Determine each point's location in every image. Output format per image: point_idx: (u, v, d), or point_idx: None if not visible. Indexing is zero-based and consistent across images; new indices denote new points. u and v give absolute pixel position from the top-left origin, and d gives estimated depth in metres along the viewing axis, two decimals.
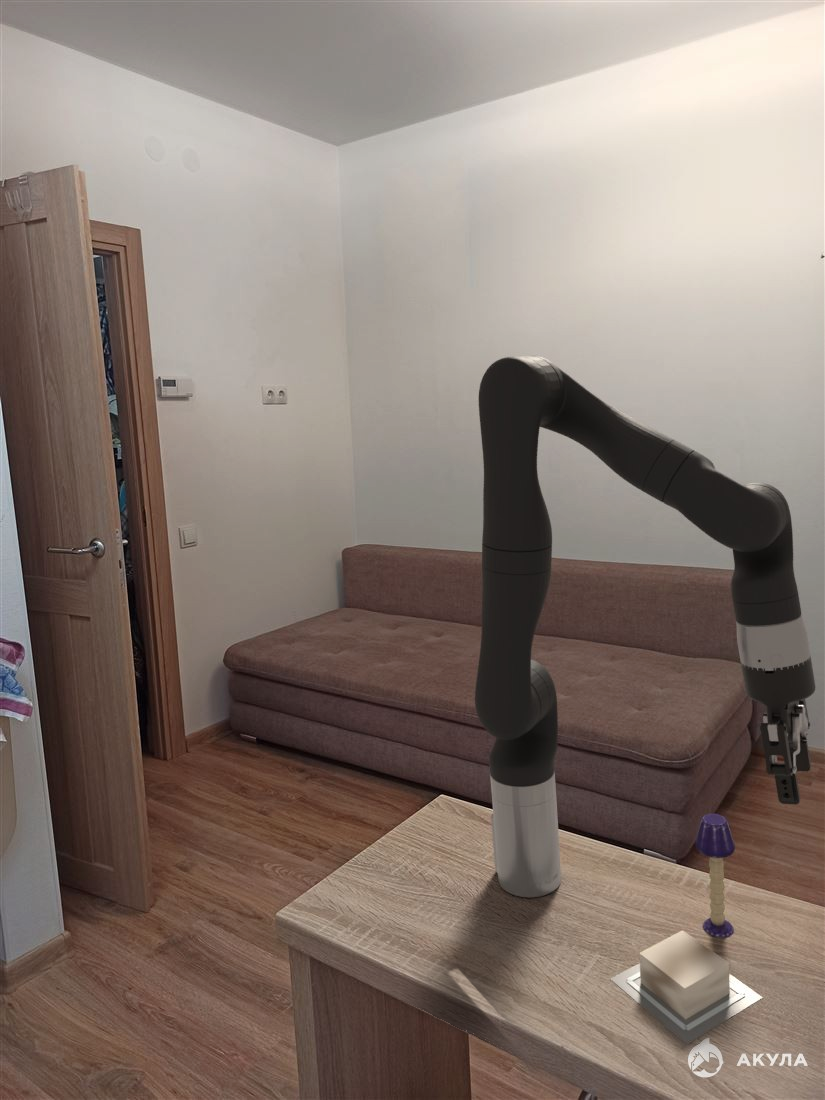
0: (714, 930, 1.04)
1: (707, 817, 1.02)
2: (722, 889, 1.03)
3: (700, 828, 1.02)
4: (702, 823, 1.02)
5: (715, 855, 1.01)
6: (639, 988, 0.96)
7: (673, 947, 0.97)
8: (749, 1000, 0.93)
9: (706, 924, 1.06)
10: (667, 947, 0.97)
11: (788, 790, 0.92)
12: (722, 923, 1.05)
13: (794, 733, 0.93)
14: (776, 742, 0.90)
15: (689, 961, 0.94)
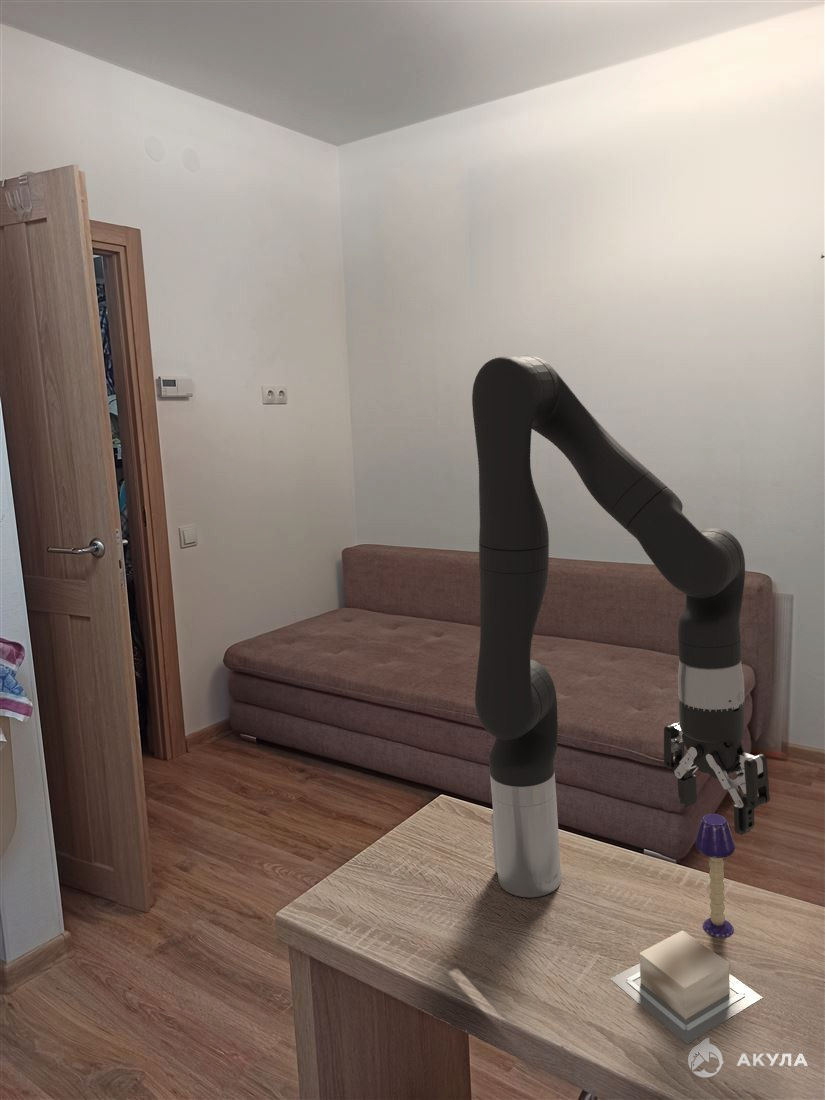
0: (714, 930, 1.04)
1: (707, 817, 1.02)
2: (722, 889, 1.03)
3: (700, 828, 1.02)
4: (702, 823, 1.02)
5: (715, 855, 1.01)
6: (639, 988, 0.96)
7: (673, 947, 0.97)
8: (749, 1000, 0.93)
9: (706, 924, 1.06)
10: (667, 947, 0.97)
11: (751, 819, 0.97)
12: (722, 923, 1.05)
13: (740, 764, 0.99)
14: (759, 774, 0.95)
15: (689, 961, 0.94)
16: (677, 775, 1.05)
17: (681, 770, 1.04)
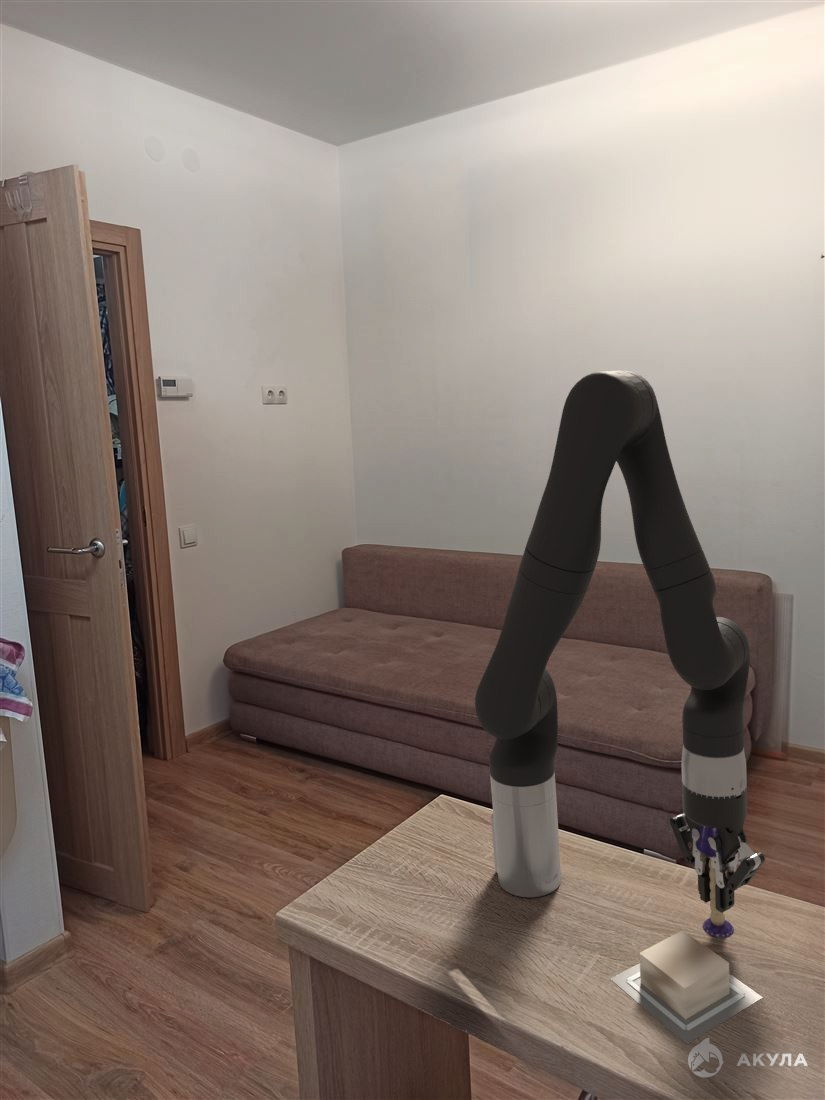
0: (714, 930, 1.04)
1: None
2: None
3: (700, 828, 1.02)
4: None
5: (715, 855, 1.01)
6: (639, 988, 0.96)
7: (673, 947, 0.97)
8: (749, 1000, 0.93)
9: (706, 924, 1.06)
10: (667, 947, 0.97)
11: (732, 898, 1.02)
12: (722, 923, 1.05)
13: None
14: None
15: (689, 961, 0.94)
16: (698, 872, 1.05)
17: (702, 867, 1.04)
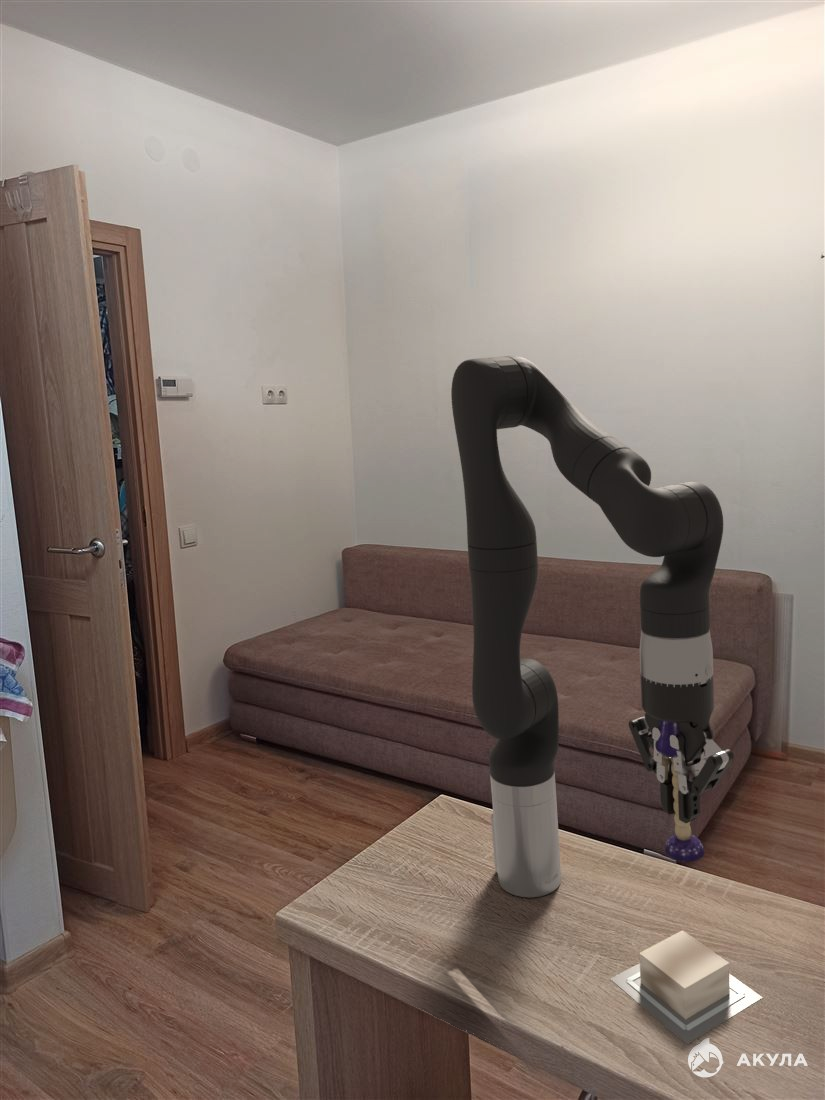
0: (679, 845, 0.92)
1: None
2: None
3: (659, 726, 0.90)
4: (661, 720, 0.90)
5: (676, 754, 0.88)
6: (639, 988, 0.96)
7: (673, 947, 0.97)
8: (749, 1000, 0.93)
9: (670, 840, 0.93)
10: (667, 947, 0.97)
11: (697, 806, 0.90)
12: (688, 838, 0.92)
13: None
14: None
15: (689, 961, 0.94)
16: (660, 779, 0.92)
17: (664, 773, 0.91)
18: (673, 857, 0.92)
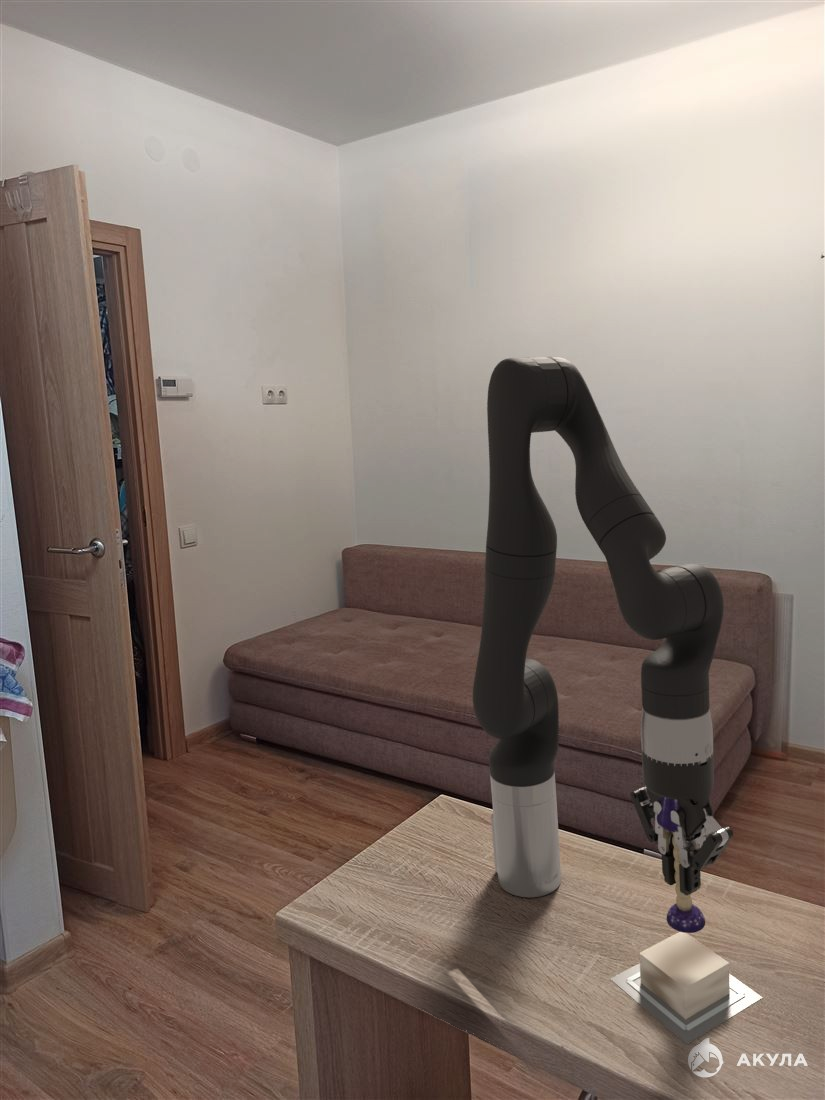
0: (680, 916, 0.93)
1: None
2: None
3: (661, 800, 0.92)
4: None
5: (677, 829, 0.90)
6: (639, 988, 0.96)
7: (673, 947, 0.97)
8: (749, 1000, 0.93)
9: (672, 910, 0.94)
10: (667, 947, 0.97)
11: (697, 879, 0.91)
12: (689, 908, 0.94)
13: None
14: None
15: (689, 961, 0.94)
16: (661, 851, 0.93)
17: (665, 845, 0.93)
18: (674, 928, 0.93)
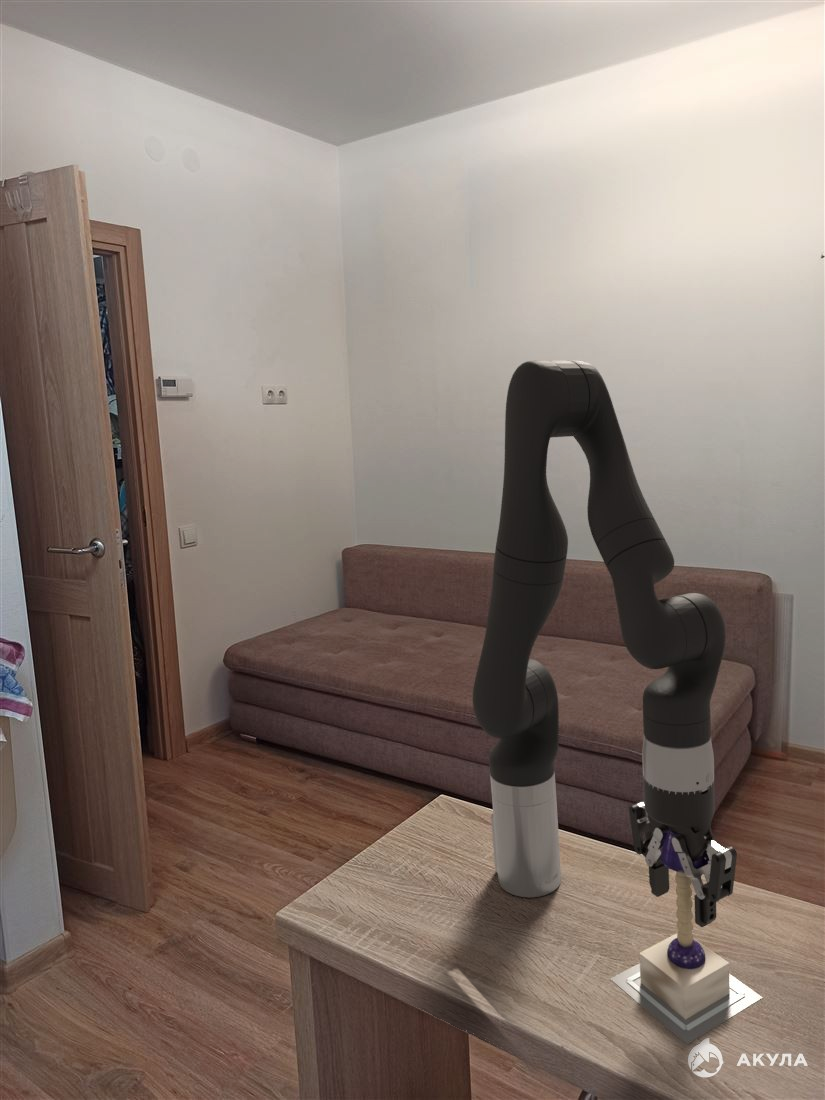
0: (681, 952, 0.94)
1: None
2: (690, 907, 0.93)
3: (665, 839, 0.92)
4: (667, 834, 0.92)
5: (681, 869, 0.90)
6: (639, 988, 0.96)
7: None
8: (749, 1000, 0.93)
9: (673, 945, 0.95)
10: (667, 947, 0.97)
11: (713, 910, 0.90)
12: (690, 944, 0.94)
13: None
14: (726, 868, 0.87)
15: None
16: (648, 863, 0.96)
17: (652, 858, 0.95)
18: (674, 963, 0.94)
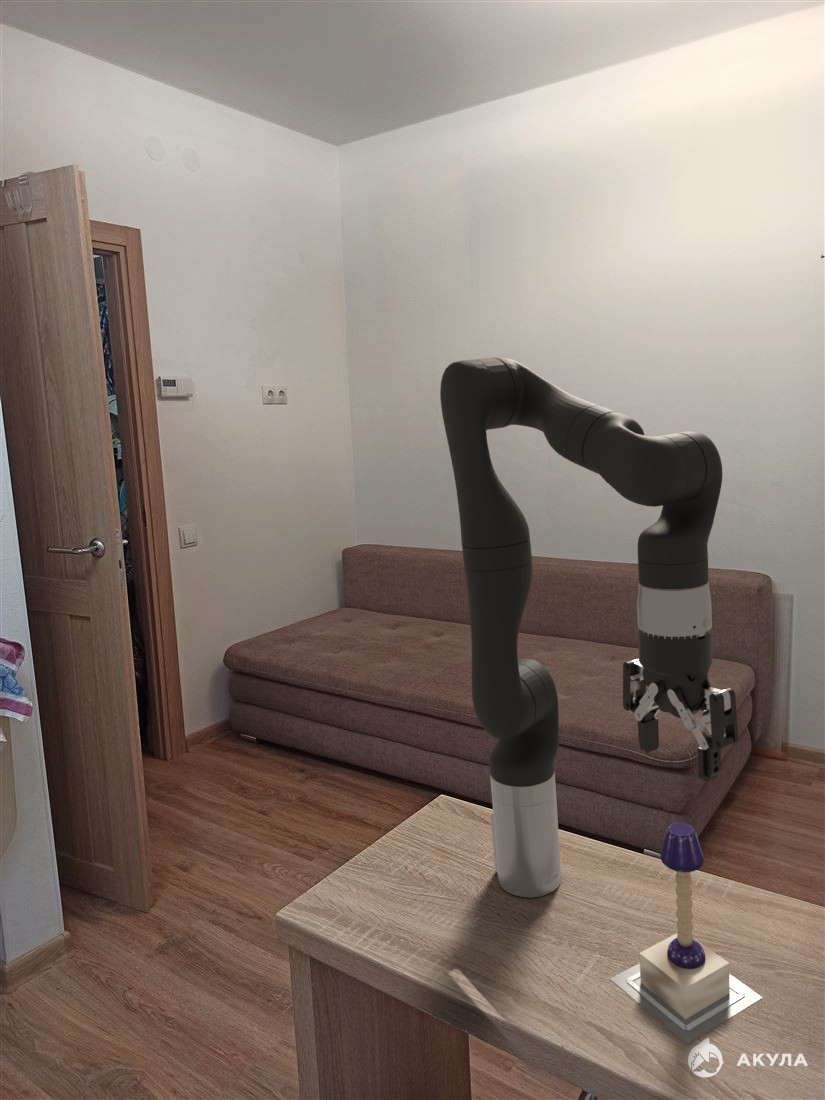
0: (681, 952, 0.94)
1: (673, 826, 0.92)
2: (690, 906, 0.93)
3: (665, 839, 0.92)
4: (667, 833, 0.92)
5: (681, 869, 0.90)
6: (639, 988, 0.96)
7: None
8: (749, 1000, 0.93)
9: (673, 945, 0.95)
10: (667, 947, 0.97)
11: (717, 763, 0.85)
12: (690, 944, 0.94)
13: (706, 701, 0.87)
14: (726, 710, 0.83)
15: None
16: (637, 717, 0.93)
17: (641, 711, 0.92)
18: (674, 963, 0.94)
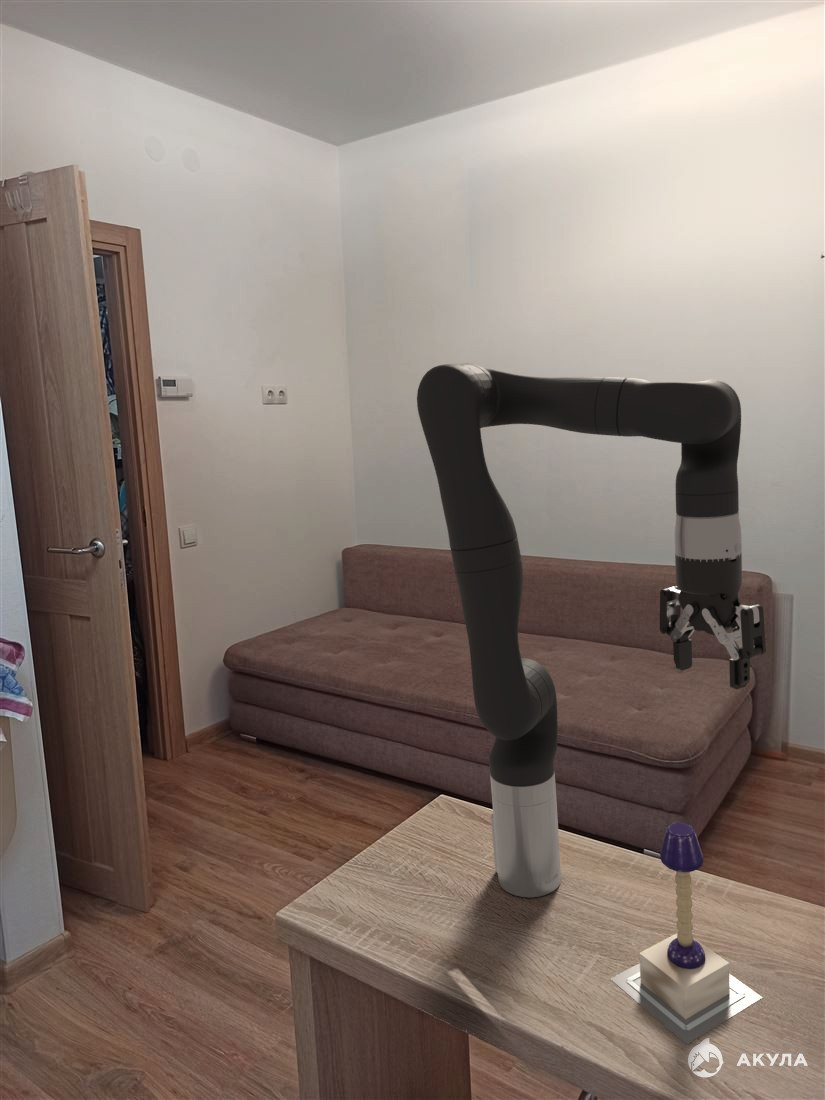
0: (681, 952, 0.94)
1: (673, 826, 0.92)
2: (690, 906, 0.93)
3: (665, 839, 0.92)
4: (667, 833, 0.92)
5: (681, 869, 0.90)
6: (639, 988, 0.96)
7: None
8: (749, 1000, 0.93)
9: (673, 945, 0.95)
10: (667, 947, 0.97)
11: (747, 673, 0.96)
12: (690, 944, 0.94)
13: (736, 619, 0.98)
14: (755, 624, 0.94)
15: None
16: (673, 638, 1.04)
17: (677, 632, 1.03)
18: (674, 963, 0.94)
